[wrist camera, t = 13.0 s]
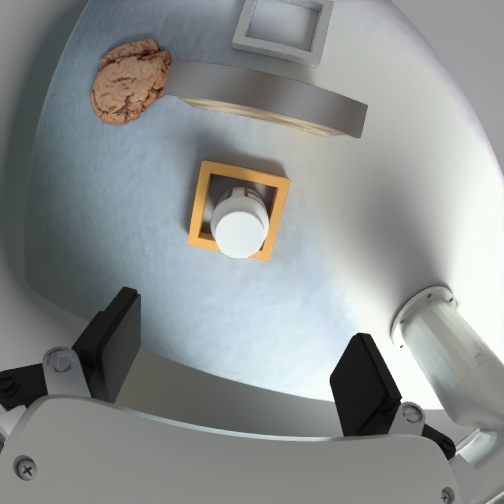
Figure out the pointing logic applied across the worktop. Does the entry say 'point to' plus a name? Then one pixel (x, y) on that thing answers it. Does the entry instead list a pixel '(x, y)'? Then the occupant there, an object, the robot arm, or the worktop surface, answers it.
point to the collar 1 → (321, 3)
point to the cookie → (129, 81)
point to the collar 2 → (276, 181)
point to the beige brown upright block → (265, 98)
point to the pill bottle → (239, 222)
